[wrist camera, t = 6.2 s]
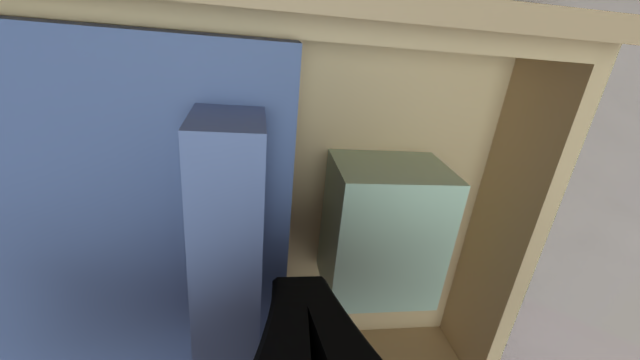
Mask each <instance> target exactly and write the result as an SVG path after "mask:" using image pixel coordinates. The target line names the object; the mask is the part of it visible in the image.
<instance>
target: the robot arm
mask: <svg viewBox="0 0 640 360" xmlns="http://www.w3.org/2000/svg"><path fill="white" fill-rule="evenodd" d="M253 360H383V359H382V358H381V357H380V356H379V354H378V353H377V352H376V351H375V350H374V348H373V347H372V346H371V345H370V343H369V342H368V341H367V339H366V338H365V337H364V335H363V334H362V333H361V332H360V330H359V329H358V328H357V326H356V325H355V324H354V322H353V321H352V320H351V318H350V317H349V315H348V314H347V312H346V311H345V310H344V308H343V307H342V305H341V304H340V302H339V301H338V299H337V298H336V296H335V295H334V293H333V291H332V290H331V288H330V287H329V285H328V283H327V282H326V280H325V279H324V278H323V277H322V276H303V277H277V278H275V279H274V280H273V281H272V297H271V304H270V309H269V313H268V317H267V321H266V324H265V327H264V331H263V334H262V337H261V340H260V343H259V346H258V349H257V351H256V354H255V357H254V359H253Z"/></svg>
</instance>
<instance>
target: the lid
mask: <svg viewBox="0 0 640 360" xmlns="http://www.w3.org/2000/svg"><path fill="white" fill-rule="evenodd" d="M301 57H302V43H301V42H300V41H299V40H290V39H278V38H266V37H254V36H242V35H230V34H218V33H206V32H194V31H182V30H170V29H158V28H146V27H134V26H123V25H111V24H99V23H87V22H75V21H63V20H51V19H39V18H27V17H15V16H3V15H0V360H253V359H254V357H255V354H256V351H257V349H258V346H259V343H260V340H261V337H262V334H263V331H264V327H265V324H266V321H267V317H268V313H269V309H270V304H271V297H272V281H273V280H274V279H275V278H277V277H287V264H288V249H289V234H290V219H291V205H292V190H293V175H294V160H295V146H296V131H297V116H298V101H299V87H300V72H301Z"/></svg>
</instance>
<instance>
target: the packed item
mask: <svg viewBox="0 0 640 360" xmlns="http://www.w3.org/2000/svg"><path fill="white" fill-rule="evenodd" d="M470 187H471V186H470V185H469V184H468V183H467V182H465V181H464V180H463V179H462V178H461V177H460V176H458V175H457V174H456V173H455V172H454V171H453V170H451V169H450V168H449V167H448V166H447V165H446V164H444V163H443V162H442V161H441V160H440V159H439V158H437V157H436V156H435V155H434V154H433V153H432V152H406V151H377V150H348V149H328V159H327V168H326V178H325V187H324V197H323V206H322V216H321V225H320V235H319V245H318V254H317V266H318V270H319V274H320V276H322V277H323V278H324V279H325V280H326V282H327V283H328V285H329V287H330V288H331V290H332V291H333V293H334V295H335V296H336V298H337V299H338V301H339V302H340V304H341V305H342V307H343V308H344V310H345V311H346V312H347V314H358V313H383V312H407V311H432V310H437V308H438V304H439V300H440V297H441V293H442V289H443V286H444V282H445V278H446V275H447V271H448V267H449V264H450V260H451V256H452V253H453V249H454V246H455V242H456V238H457V235H458V231H459V227H460V224H461V220H462V216H463V213H464V209H465V205H466V202H467V198H468V194H469V191H470Z"/></svg>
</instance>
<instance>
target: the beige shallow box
mask: <svg viewBox="0 0 640 360" xmlns="http://www.w3.org/2000/svg"><path fill="white" fill-rule="evenodd" d="M0 15H3V16H15V17H27V18H39V19H51V20H63V21H75V22H87V23H99V24H111V25H123V26H134V27H146V28H158V29H170V30H182V31H194V32H206V33H218V34H230V35H242V36H254V37H266V38H278V39H290V40H299V41H300V42H301V43H302V57H301V72H300V87H299V101H298V116H297V131H296V146H295V160H294V175H293V190H292V205H291V219H290V234H289V249H288V264H287V277H303V276H320V274H319V270H318V266H317V254H318V245H319V235H320V225H321V216H322V206H323V197H324V187H325V178H326V168H327V159H328V149H348V150H377V151H406V152H432V153H433V154H434V155H435V156H436V157H437V158H439V159H440V160H441V161H442V162H443V163H444V164H446V165H447V166H448V167H449V168H450V169H451V170H453V171H454V172H455V173H456V174H457V175H458V176H460V177H461V178H462V179H463V180H464V181H465V182H467V183H468V184H469V185H470V186H471V187H470V191H469V194H468V198H467V202H466V205H465V209H464V213H463V216H462V220H461V224H460V227H459V231H458V235H457V238H456V242H455V246H454V249H453V253H452V256H451V260H450V264H449V267H448V271H447V275H446V278H445V282H444V286H443V289H442V293H441V297H440V300H439V304H438V308H437V310H432V311H407V312H383V313H358V314H348V315H349V317H350V318H351V320H352V321H353V322H354V324H355V325H356V326H357V328H358V329H359V330H360V332H361V333H362V334H363V335H364V337H365V338H366V339H367V341H368V342H369V343H370V345H371V346H372V347H373V348H374V350H375V351H376V352H377V353H378V354H379V356H380V357H381V358H382V359H383V360H500V359H501V356H502V354H503V351H504V348H505V346H506V343H507V341H508V338H509V335H510V333H511V330H512V328H513V325H514V322H515V320H516V317H517V315H518V312H519V309H520V307H521V304H522V302H523V299H524V296H525V294H526V291H527V289H528V286H529V284H530V281H531V278H532V276H533V273H534V271H535V268H536V265H537V263H538V260H539V258H540V255H541V252H542V250H543V247H544V245H545V242H546V239H547V237H548V234H549V232H550V229H551V226H552V224H553V221H554V219H555V216H556V214H557V211H558V208H559V206H560V203H561V201H562V198H563V195H564V193H565V190H566V188H567V185H568V182H569V180H570V177H571V175H572V172H573V169H574V167H575V164H576V162H577V159H578V156H579V154H580V151H581V149H582V146H583V144H584V141H585V138H586V136H587V133H588V131H589V128H590V125H591V123H592V120H593V118H594V115H595V112H596V110H597V107H598V105H599V102H600V99H601V97H602V94H603V92H604V89H605V86H606V84H607V81H608V79H609V76H610V73H611V71H612V68H613V66H614V63H615V61H616V58H617V55H618V53H619V50H620V48H621V45H622V44H629V45H640V15H638V14H629V13H620V12H611V11H602V10H593V9H584V8H575V7H566V6H558V5H549V4H540V3H531V2H522V1H513V0H0Z"/></svg>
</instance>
